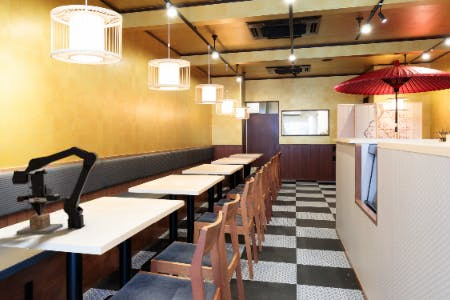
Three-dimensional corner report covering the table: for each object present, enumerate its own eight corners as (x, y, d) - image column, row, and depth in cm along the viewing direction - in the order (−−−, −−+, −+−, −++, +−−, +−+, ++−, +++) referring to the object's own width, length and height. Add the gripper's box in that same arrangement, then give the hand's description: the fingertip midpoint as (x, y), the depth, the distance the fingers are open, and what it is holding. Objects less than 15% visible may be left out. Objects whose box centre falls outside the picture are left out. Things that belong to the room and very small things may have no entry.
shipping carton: (50, 225, 169) (49, 213, 169) (43, 229, 163) (42, 216, 162) (37, 225, 169) (37, 213, 169) (30, 229, 163) (29, 216, 163)
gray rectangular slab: (62, 226, 172) (62, 223, 172) (49, 233, 160) (49, 230, 160) (31, 227, 172) (31, 224, 172) (16, 234, 160) (16, 231, 160)
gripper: (65, 180, 173) (66, 211, 173) (29, 181, 173) (31, 212, 174) (53, 184, 162) (55, 216, 162) (14, 185, 162) (16, 217, 163)
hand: (39, 215), depth 166 cm, fingers closed, pressing on shipping carton
